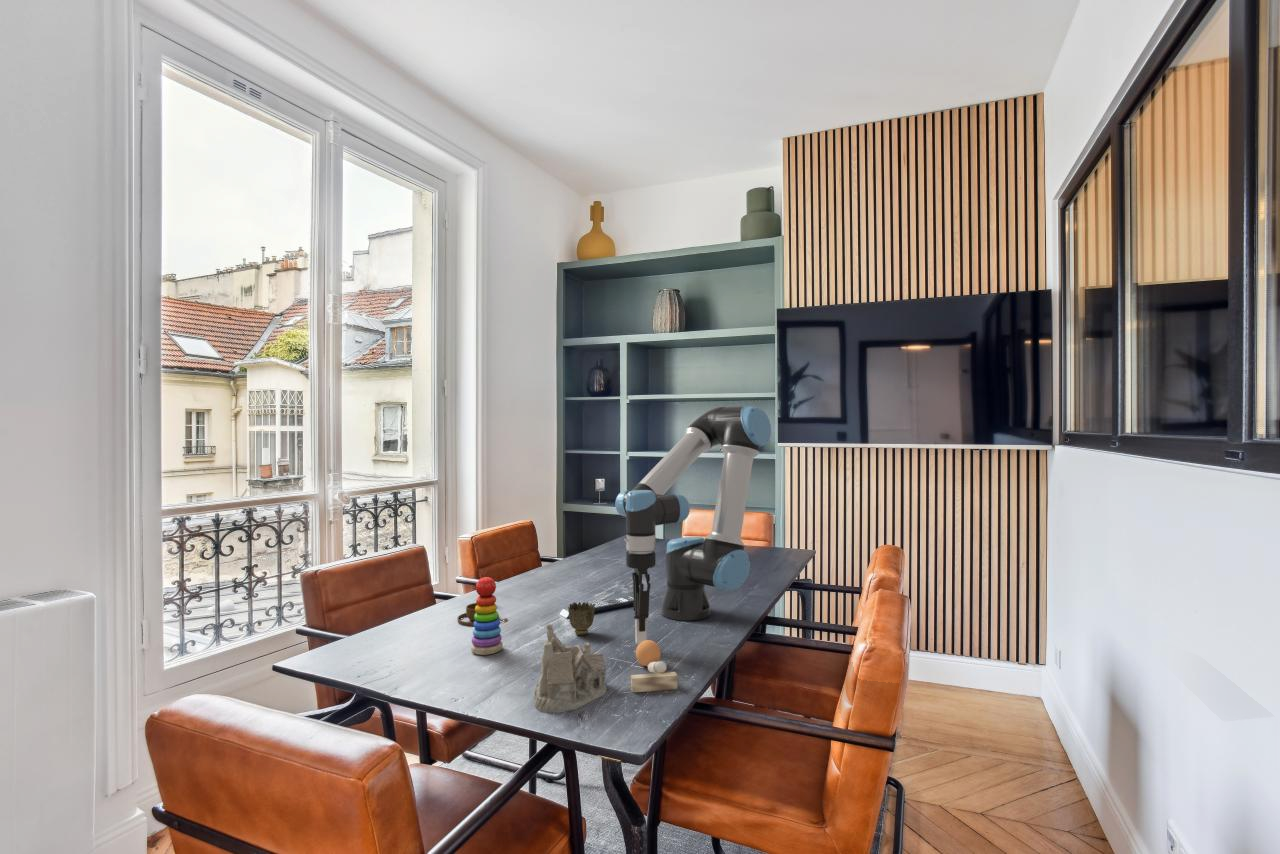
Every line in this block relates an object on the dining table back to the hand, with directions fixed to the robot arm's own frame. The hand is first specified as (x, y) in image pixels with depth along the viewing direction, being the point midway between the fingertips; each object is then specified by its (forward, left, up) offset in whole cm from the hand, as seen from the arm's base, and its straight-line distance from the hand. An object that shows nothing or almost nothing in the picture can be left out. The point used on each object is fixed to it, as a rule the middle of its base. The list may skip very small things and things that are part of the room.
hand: (641, 642), depth 162 cm
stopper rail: (+2, +24, -2) cm, 24 cm away
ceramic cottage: (+20, +24, -2) cm, 31 cm away
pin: (0, +15, -1) cm, 15 cm away
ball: (0, +11, +1) cm, 11 cm away
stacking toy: (+39, -7, -2) cm, 40 cm away
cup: (+14, -15, -2) cm, 21 cm away
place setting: (+41, -37, -3) cm, 55 cm away
